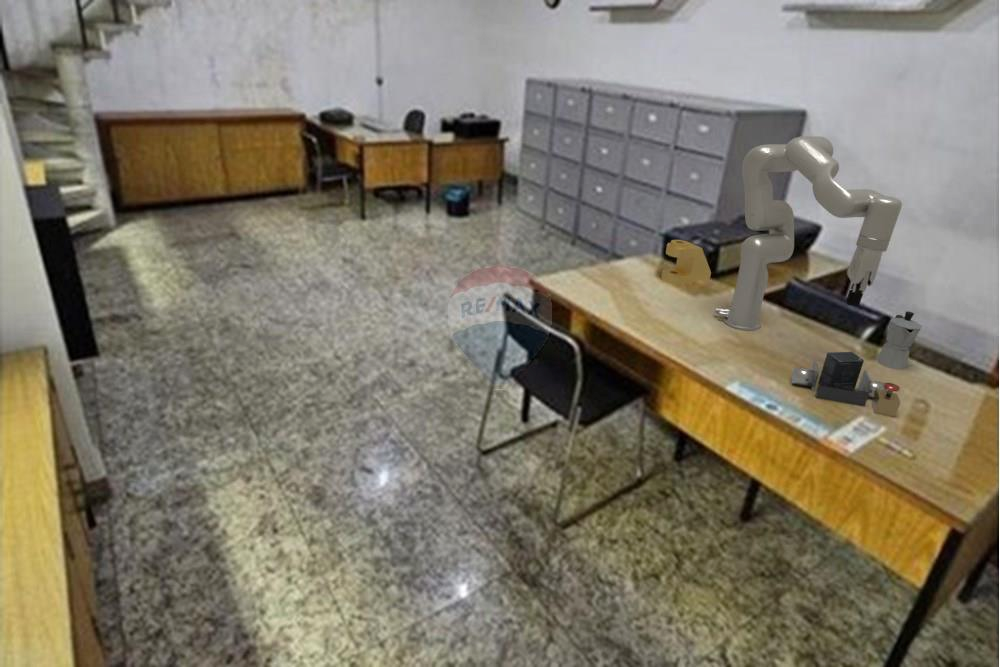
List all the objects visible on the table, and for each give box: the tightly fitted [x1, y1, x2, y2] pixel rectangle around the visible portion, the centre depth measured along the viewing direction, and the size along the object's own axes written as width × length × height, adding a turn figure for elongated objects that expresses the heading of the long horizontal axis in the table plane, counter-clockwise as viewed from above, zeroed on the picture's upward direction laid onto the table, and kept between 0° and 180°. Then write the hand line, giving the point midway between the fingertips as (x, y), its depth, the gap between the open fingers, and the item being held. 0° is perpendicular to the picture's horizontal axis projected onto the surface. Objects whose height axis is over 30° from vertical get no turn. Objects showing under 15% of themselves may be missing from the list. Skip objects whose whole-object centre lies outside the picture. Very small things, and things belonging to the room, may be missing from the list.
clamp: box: [660, 239, 712, 285], centre depth 256 cm, size 20×9×16 cm, turn 116°
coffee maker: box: [875, 311, 923, 371], centre depth 195 cm, size 15×9×18 cm, turn 163°
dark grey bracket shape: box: [790, 361, 888, 407], centre depth 178 cm, size 24×10×6 cm, turn 73°
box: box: [817, 351, 865, 390], centre depth 180 cm, size 8×6×11 cm
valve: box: [870, 382, 902, 418], centre depth 171 cm, size 5×5×8 cm
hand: (852, 304), depth 180 cm, fingers closed
